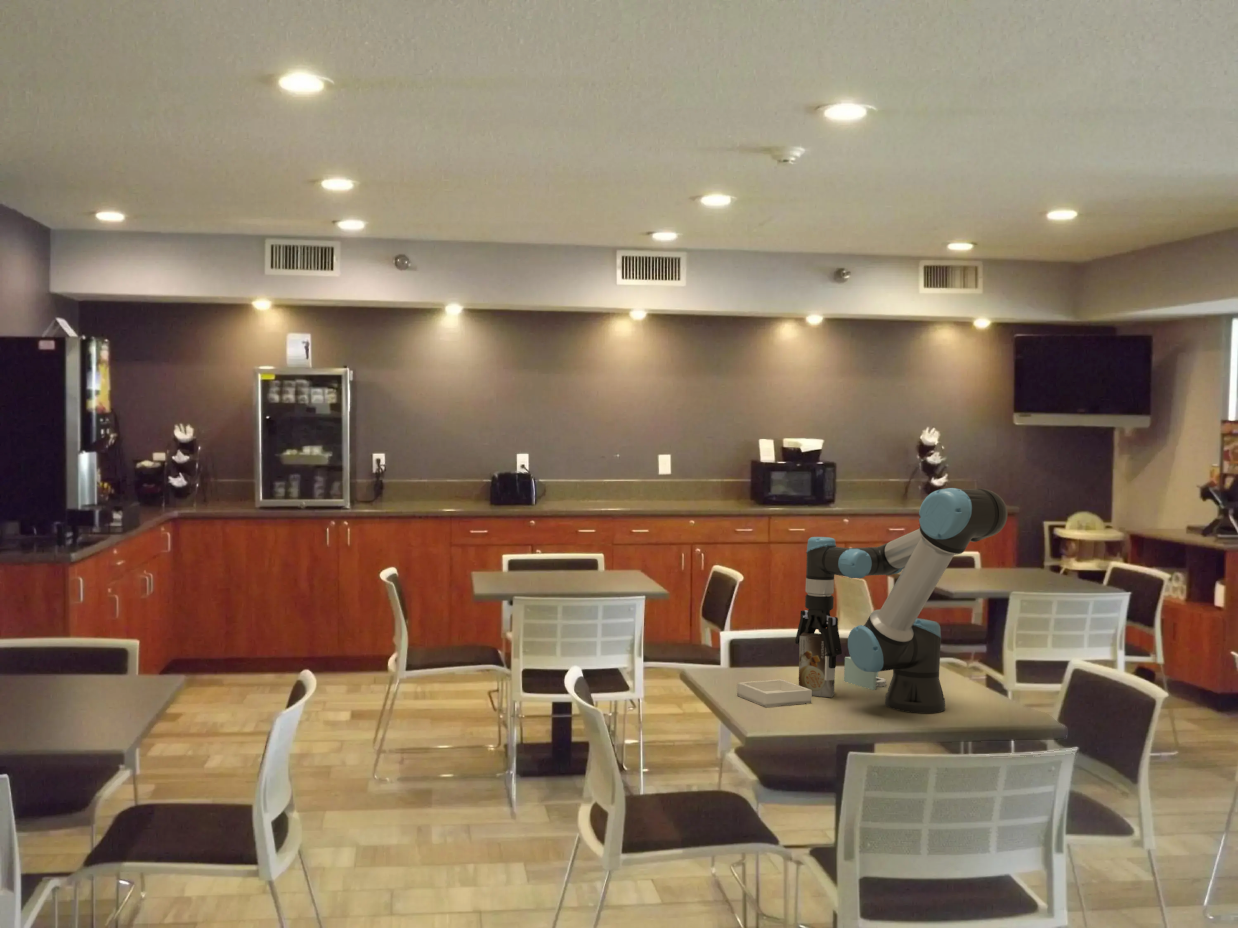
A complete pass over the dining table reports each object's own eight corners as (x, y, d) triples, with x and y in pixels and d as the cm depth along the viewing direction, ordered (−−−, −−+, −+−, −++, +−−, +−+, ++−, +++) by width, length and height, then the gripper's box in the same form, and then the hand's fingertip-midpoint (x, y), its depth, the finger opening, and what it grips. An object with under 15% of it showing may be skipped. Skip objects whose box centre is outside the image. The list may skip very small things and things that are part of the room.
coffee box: (835, 693, 308) (837, 634, 307) (831, 698, 302) (833, 638, 301) (801, 689, 311) (803, 631, 310) (797, 694, 305) (799, 635, 304)
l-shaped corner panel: (873, 691, 314) (874, 664, 314) (843, 683, 324) (844, 657, 324) (905, 688, 320) (905, 661, 320) (875, 679, 330) (876, 654, 330)
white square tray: (811, 703, 295) (811, 689, 294) (765, 707, 288) (766, 693, 288) (781, 691, 307) (781, 679, 307) (736, 695, 301) (737, 682, 301)
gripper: (857, 599, 297) (854, 683, 297) (806, 588, 318) (803, 666, 318) (834, 600, 294) (831, 685, 294) (783, 589, 314) (781, 668, 315)
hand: (816, 675), depth 306 cm, fingers closed on coffee box, 11 cm apart
